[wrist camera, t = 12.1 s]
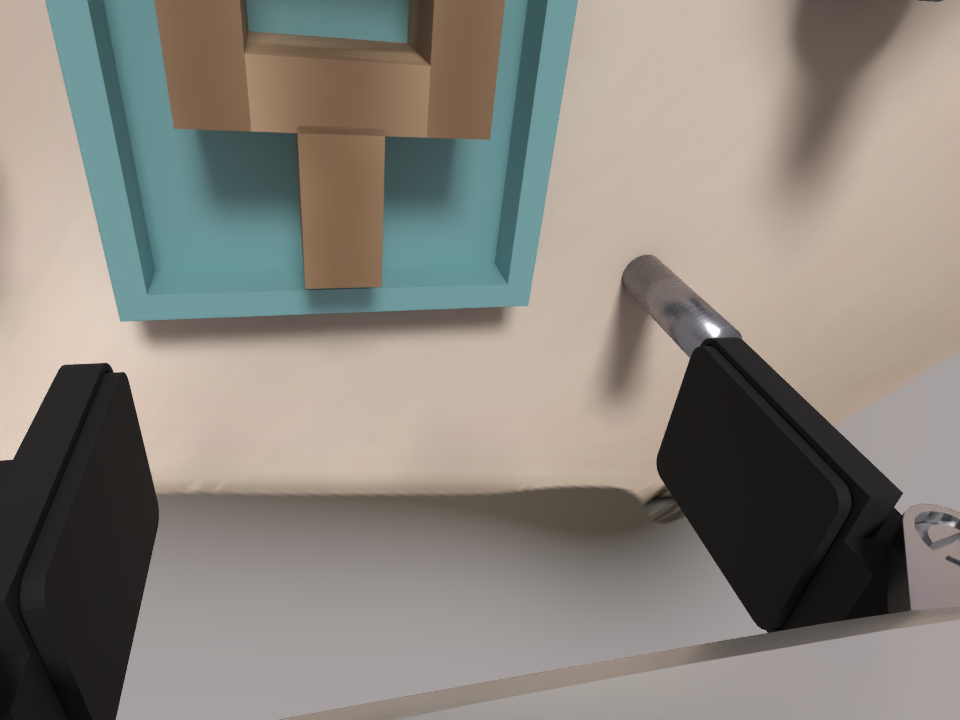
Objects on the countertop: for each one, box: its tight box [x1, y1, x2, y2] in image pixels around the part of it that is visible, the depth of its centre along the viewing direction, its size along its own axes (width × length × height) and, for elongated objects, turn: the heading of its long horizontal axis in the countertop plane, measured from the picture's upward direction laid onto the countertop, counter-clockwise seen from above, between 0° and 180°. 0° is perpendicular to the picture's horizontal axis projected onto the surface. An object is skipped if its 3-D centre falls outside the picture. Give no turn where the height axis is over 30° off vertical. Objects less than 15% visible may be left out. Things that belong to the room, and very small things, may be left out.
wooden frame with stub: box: [154, 0, 505, 289], centre depth 19 cm, size 9×14×4 cm, turn 174°
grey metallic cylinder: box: [622, 255, 742, 358], centre depth 28 cm, size 2×2×6 cm
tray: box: [45, 0, 578, 321], centre depth 20 cm, size 15×20×2 cm
